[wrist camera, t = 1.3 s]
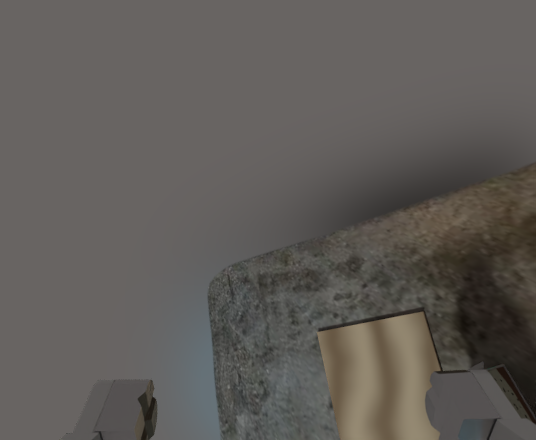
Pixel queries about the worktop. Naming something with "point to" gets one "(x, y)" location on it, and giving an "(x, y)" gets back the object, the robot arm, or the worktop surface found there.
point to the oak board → (381, 378)
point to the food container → (509, 389)
